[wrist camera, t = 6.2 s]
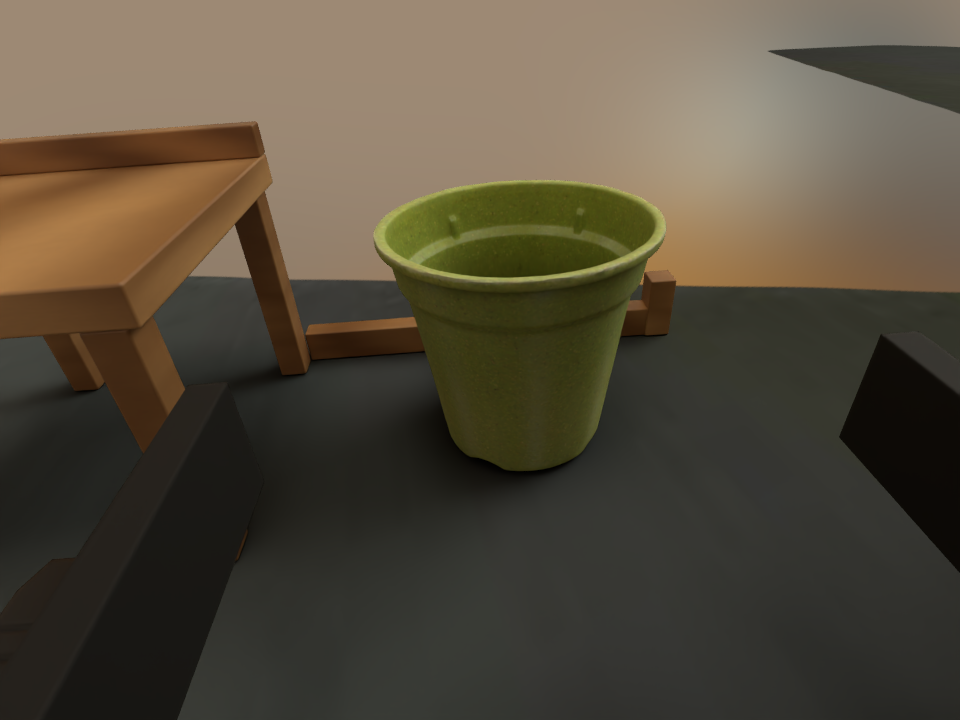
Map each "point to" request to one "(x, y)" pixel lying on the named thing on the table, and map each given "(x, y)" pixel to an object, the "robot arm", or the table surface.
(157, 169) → the plant stand
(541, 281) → the plant pot
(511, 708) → the table surface
